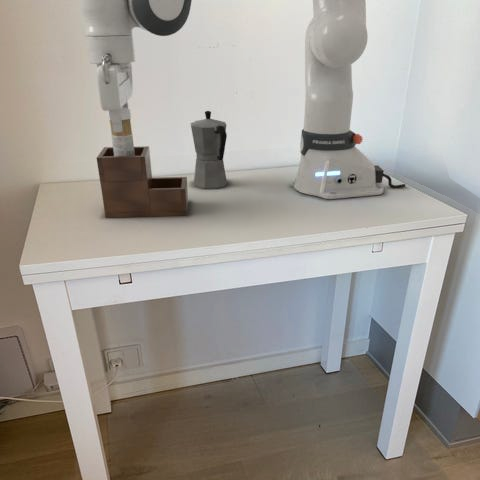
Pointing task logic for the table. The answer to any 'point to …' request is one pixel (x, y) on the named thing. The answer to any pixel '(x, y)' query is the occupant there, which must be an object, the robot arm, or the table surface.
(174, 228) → the table surface
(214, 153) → the coffeepot
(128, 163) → the caddy
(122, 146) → the sprinkles bottle
